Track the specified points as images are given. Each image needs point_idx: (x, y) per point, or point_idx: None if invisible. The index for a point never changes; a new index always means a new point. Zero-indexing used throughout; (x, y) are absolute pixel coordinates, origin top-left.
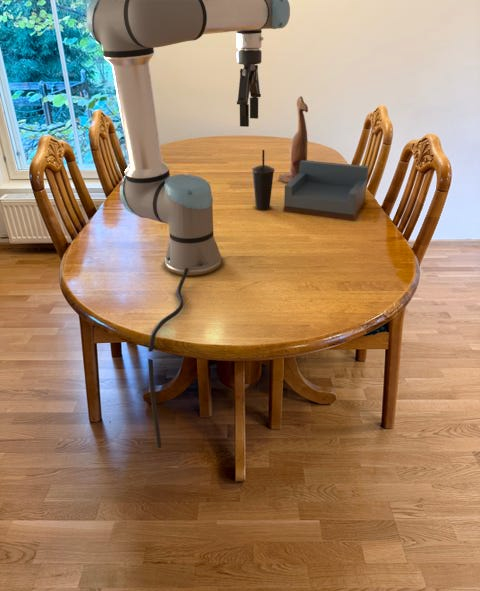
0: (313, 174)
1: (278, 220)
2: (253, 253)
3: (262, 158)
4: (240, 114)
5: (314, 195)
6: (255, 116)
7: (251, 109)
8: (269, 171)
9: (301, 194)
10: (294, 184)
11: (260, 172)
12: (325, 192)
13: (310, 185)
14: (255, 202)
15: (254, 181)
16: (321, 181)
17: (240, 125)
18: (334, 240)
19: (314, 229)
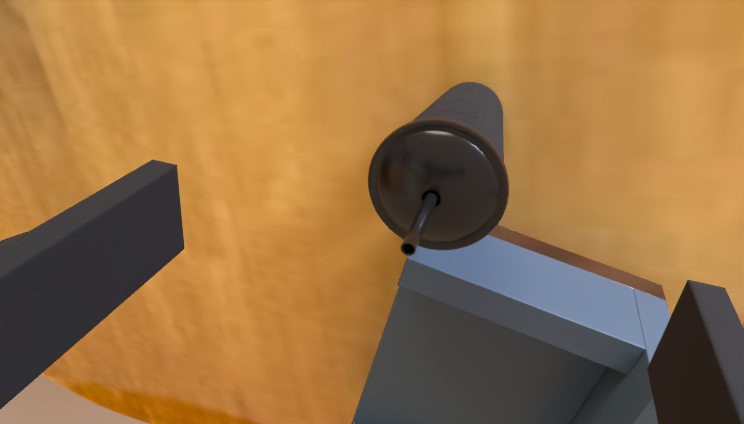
0: (609, 400)
1: (333, 176)
2: (68, 96)
3: (417, 215)
4: (51, 228)
5: (412, 343)
6: (663, 364)
7: (710, 390)
8: (388, 222)
9: (421, 301)
10: (435, 299)
11: (368, 173)
12: (453, 385)
13: (552, 353)
14: (455, 88)
15: (417, 117)
16: (587, 405)
17: (147, 169)
18: (216, 315)
19: (278, 280)
